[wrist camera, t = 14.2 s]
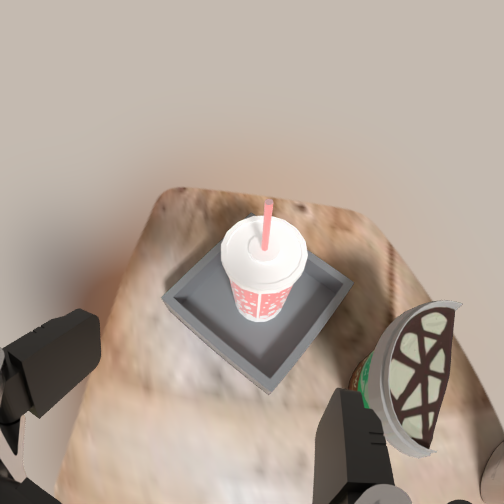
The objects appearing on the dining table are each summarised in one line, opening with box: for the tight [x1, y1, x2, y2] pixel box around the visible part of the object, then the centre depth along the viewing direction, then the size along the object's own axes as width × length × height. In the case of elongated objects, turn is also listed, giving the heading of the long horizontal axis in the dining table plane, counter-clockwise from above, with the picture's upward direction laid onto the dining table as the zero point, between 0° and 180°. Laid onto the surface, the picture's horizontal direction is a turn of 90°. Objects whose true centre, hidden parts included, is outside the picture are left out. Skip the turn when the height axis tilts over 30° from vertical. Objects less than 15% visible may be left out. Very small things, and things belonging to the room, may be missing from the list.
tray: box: [161, 213, 354, 395], centre depth 28 cm, size 13×13×3 cm
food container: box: [348, 300, 462, 458], centre depth 20 cm, size 12×6×10 cm, turn 158°
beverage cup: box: [221, 199, 308, 322], centre depth 23 cm, size 6×6×14 cm
